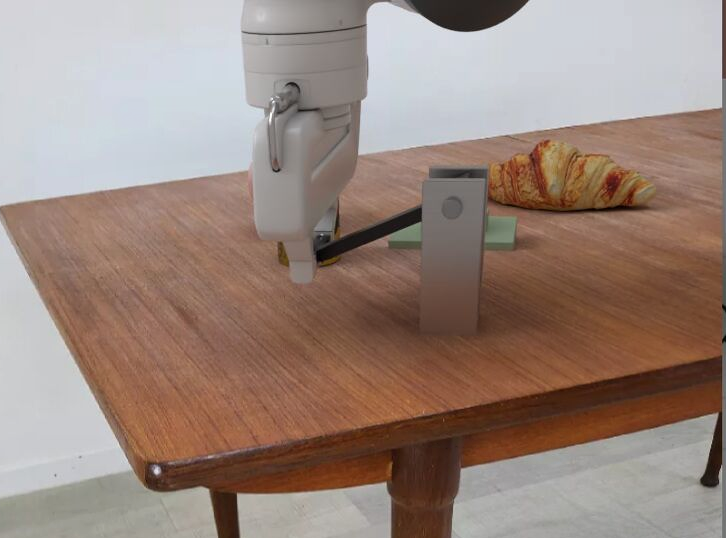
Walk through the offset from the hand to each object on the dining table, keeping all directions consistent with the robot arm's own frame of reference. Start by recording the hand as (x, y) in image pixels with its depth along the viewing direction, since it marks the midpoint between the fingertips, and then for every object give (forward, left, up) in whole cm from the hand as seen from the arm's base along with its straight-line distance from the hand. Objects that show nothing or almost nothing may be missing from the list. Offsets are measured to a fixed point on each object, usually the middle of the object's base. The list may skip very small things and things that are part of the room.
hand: (313, 266), depth 75 cm
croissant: (-19, -42, -6) cm, 46 cm away
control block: (-9, -24, -6) cm, 26 cm away
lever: (-6, 0, +2) cm, 7 cm away
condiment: (+5, -16, -6) cm, 18 cm away
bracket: (-11, 0, -6) cm, 12 cm away
